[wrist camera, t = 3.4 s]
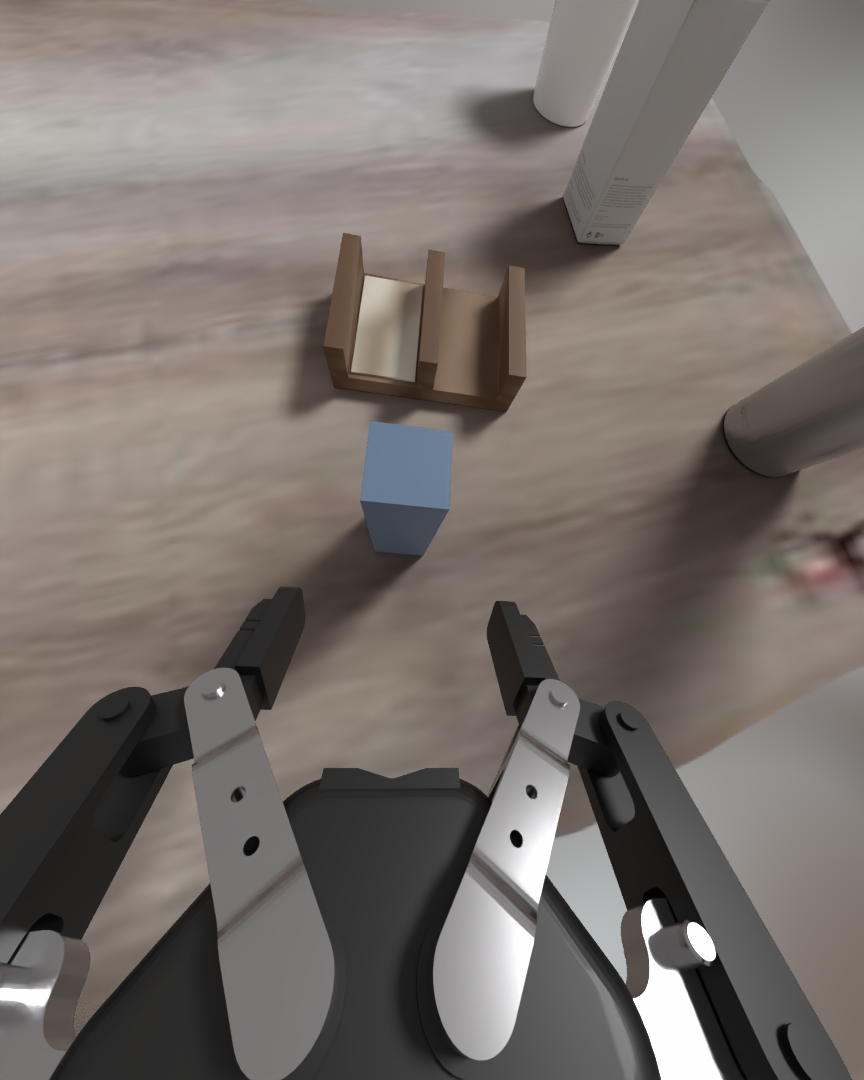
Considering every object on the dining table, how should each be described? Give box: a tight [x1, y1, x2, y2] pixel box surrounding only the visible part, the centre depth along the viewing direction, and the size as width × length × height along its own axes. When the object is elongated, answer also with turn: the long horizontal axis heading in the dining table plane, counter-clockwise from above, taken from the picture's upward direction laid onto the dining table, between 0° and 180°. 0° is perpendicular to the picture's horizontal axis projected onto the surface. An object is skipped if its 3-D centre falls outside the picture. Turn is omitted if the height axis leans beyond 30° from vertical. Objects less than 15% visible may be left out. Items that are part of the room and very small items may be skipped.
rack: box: [323, 233, 526, 411], centre depth 28 cm, size 16×12×4 cm
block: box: [360, 421, 453, 556], centre depth 20 cm, size 4×4×12 cm
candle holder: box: [533, 0, 639, 127], centre depth 37 cm, size 10×10×12 cm
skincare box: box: [563, 0, 770, 244], centre depth 30 cm, size 8×7×16 cm
